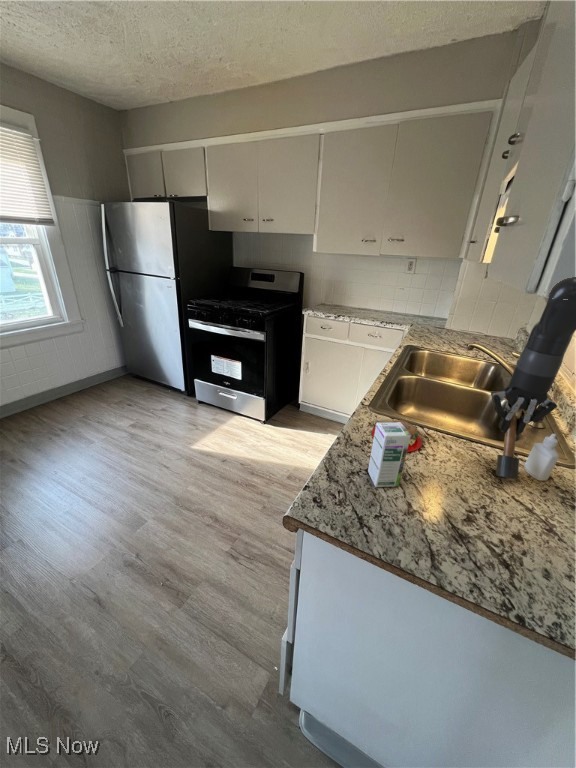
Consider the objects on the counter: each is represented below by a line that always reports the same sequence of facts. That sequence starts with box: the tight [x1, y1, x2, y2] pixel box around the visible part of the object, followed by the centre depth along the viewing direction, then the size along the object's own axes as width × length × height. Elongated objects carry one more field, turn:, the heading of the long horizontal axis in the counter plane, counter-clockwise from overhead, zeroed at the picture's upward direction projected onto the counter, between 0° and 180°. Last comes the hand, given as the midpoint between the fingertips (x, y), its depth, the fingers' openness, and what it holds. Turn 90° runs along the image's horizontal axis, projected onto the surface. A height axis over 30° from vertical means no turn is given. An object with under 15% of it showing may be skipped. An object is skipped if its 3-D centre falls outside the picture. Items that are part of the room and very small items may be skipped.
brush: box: [495, 415, 520, 480], centre depth 77 cm, size 4×4×15 cm
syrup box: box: [367, 421, 410, 488], centre depth 72 cm, size 6×6×14 cm
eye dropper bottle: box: [523, 433, 560, 482], centre depth 77 cm, size 4×6×12 cm
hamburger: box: [371, 419, 423, 453], centre depth 90 cm, size 14×14×6 cm
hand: (509, 431), depth 78 cm, fingers closed on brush, 2 cm apart
